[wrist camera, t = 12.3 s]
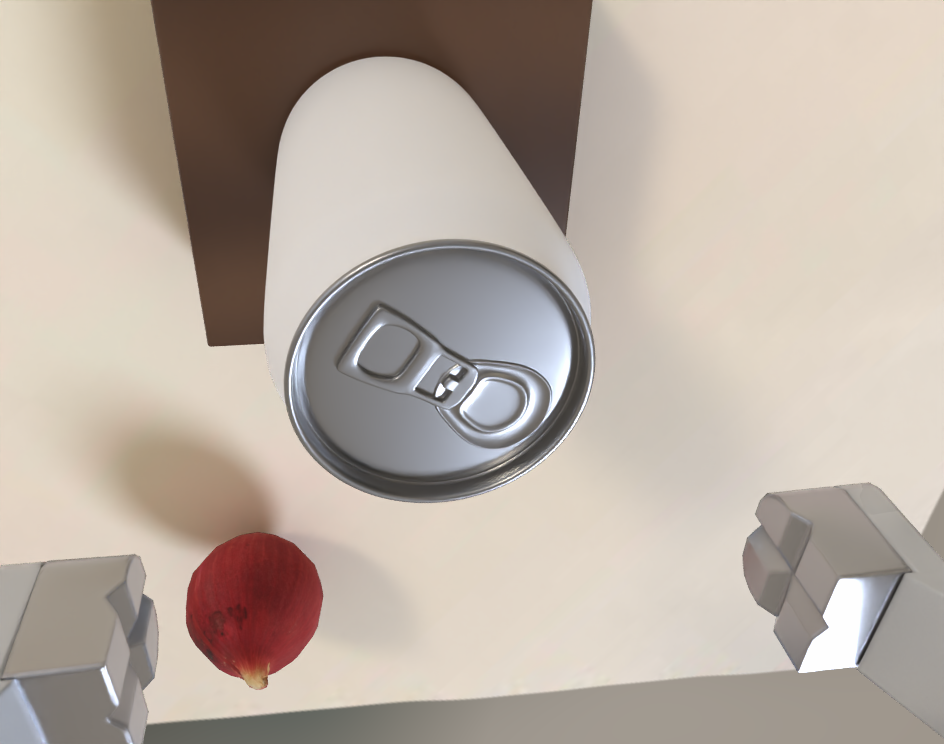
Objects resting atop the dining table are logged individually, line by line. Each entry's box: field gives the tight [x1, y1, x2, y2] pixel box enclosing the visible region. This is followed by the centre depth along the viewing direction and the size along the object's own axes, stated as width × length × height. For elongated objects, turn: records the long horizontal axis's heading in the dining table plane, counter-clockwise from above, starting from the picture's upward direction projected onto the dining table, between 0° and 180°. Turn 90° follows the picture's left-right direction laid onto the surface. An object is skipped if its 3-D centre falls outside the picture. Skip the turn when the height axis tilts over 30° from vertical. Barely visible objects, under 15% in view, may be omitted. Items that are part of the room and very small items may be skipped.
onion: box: [186, 532, 323, 690], centre depth 35 cm, size 6×6×8 cm
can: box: [264, 57, 595, 503], centre depth 19 cm, size 6×6×12 cm
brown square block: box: [151, 0, 593, 346], centre depth 26 cm, size 12×12×5 cm
